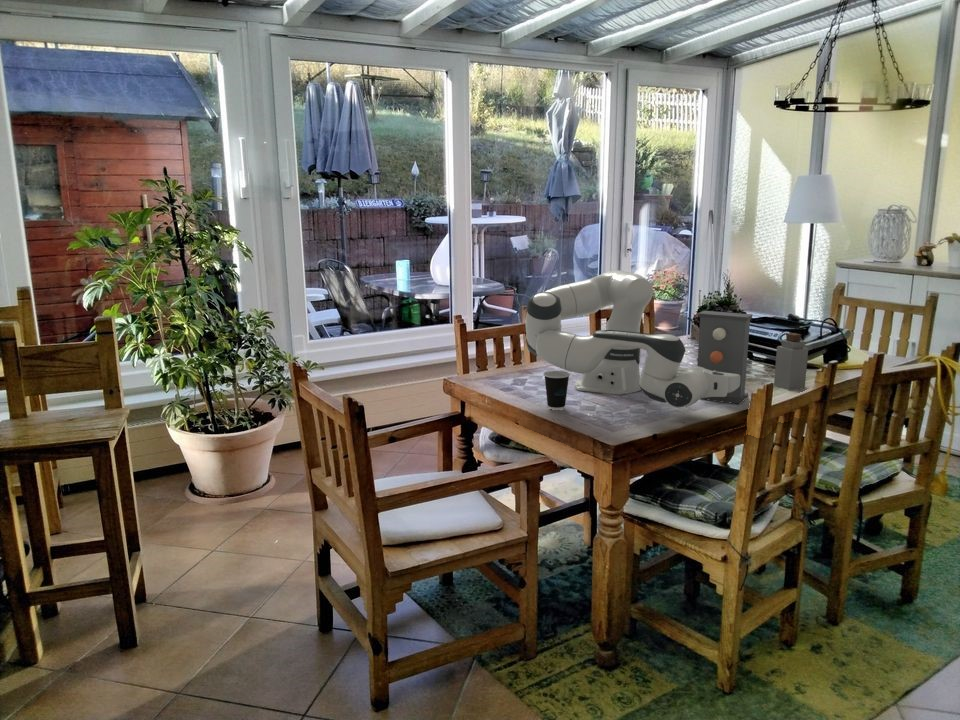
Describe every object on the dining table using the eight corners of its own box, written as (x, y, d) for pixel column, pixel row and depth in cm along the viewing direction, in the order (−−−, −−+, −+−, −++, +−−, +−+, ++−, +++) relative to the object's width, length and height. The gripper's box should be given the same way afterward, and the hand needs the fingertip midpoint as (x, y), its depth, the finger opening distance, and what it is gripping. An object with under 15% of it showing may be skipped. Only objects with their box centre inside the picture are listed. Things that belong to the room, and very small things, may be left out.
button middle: (709, 362, 227) (710, 351, 226) (712, 360, 229) (713, 349, 228) (721, 363, 225) (721, 352, 224) (724, 361, 227) (725, 350, 226)
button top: (712, 339, 226) (712, 328, 225) (715, 337, 229) (716, 326, 228) (724, 340, 224) (724, 329, 223) (727, 338, 227) (727, 327, 226)
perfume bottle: (789, 383, 250) (794, 331, 246) (804, 388, 244) (809, 335, 240) (773, 385, 248) (778, 333, 243) (788, 390, 241) (793, 336, 237)
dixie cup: (561, 413, 219) (561, 378, 217) (538, 409, 224) (538, 374, 221) (574, 407, 226) (574, 372, 223) (551, 403, 230) (552, 369, 228)
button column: (691, 397, 235) (696, 314, 228) (701, 390, 243) (706, 309, 237) (739, 404, 226) (745, 318, 220) (747, 396, 235) (754, 313, 228)
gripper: (661, 388, 217) (677, 378, 228) (731, 398, 206) (744, 387, 217) (662, 367, 216) (678, 358, 227) (732, 376, 205) (746, 366, 216)
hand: (711, 372), depth 222 cm, fingers closed
